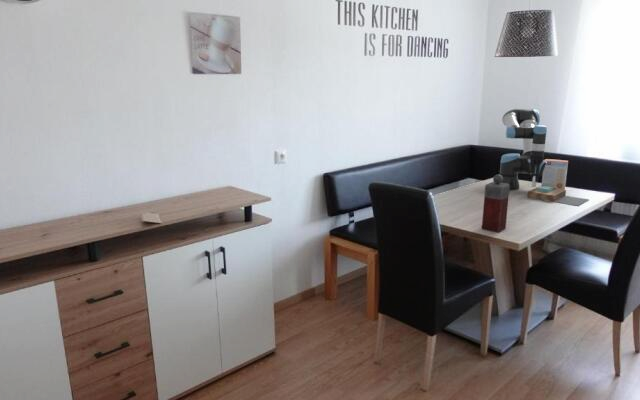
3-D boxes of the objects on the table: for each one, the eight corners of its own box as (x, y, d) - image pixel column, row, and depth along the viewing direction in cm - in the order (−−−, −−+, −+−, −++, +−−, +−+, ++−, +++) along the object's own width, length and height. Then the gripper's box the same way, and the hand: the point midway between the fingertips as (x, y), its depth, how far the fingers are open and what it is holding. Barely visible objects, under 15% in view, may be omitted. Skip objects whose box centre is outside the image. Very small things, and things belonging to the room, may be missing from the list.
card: (537, 190, 302) (538, 187, 302) (543, 188, 309) (543, 185, 308) (547, 192, 298) (548, 189, 298) (553, 190, 305) (553, 186, 304)
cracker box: (564, 191, 318) (568, 160, 312) (563, 193, 313) (567, 161, 307) (541, 188, 325) (545, 158, 320) (540, 190, 320) (544, 159, 315)
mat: (553, 201, 292) (553, 201, 291) (565, 196, 305) (565, 195, 305) (578, 206, 282) (578, 205, 282) (589, 199, 296) (589, 199, 296)
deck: (527, 197, 302) (528, 191, 301) (539, 192, 316) (540, 186, 315) (553, 201, 292) (554, 195, 291) (565, 196, 305) (566, 190, 304)
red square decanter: (507, 227, 244) (512, 173, 237) (498, 232, 236) (503, 177, 229) (490, 224, 250) (495, 171, 243) (481, 229, 242) (485, 174, 235)
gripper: (525, 149, 304) (521, 185, 310) (546, 151, 295) (541, 189, 301) (529, 148, 309) (526, 184, 315) (550, 150, 300) (546, 187, 306)
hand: (533, 186), depth 308 cm, fingers closed
